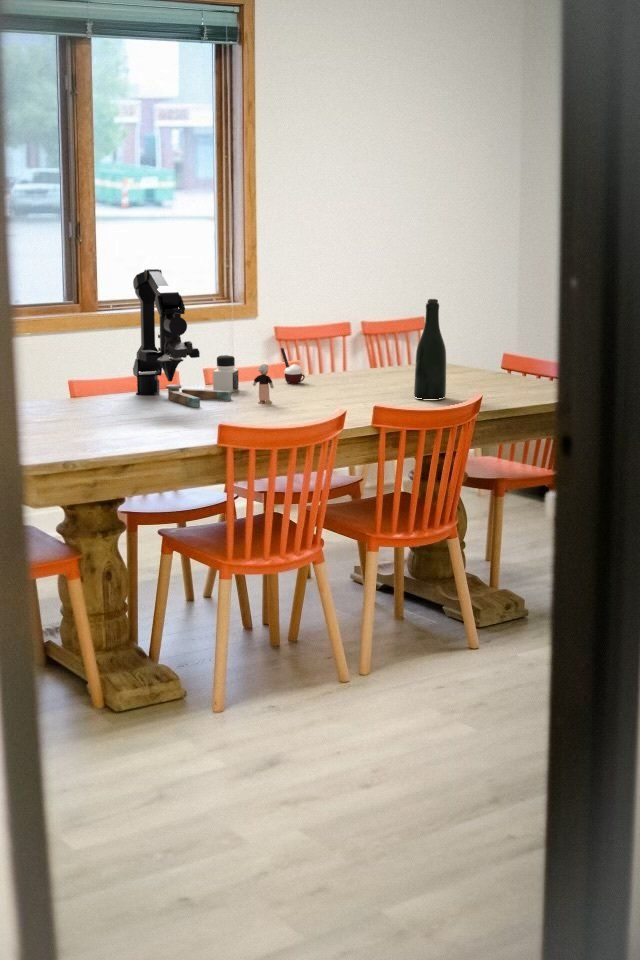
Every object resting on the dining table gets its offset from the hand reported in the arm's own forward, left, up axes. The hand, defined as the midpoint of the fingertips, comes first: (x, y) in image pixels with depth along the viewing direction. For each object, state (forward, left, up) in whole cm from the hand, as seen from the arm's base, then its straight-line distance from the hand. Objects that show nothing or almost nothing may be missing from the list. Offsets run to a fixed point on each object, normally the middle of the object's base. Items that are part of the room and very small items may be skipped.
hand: (170, 381), depth 385 cm
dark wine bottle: (+79, +35, -9) cm, 87 cm away
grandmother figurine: (+27, +15, -9) cm, 32 cm away
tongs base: (+4, +16, -8) cm, 19 cm away
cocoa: (+28, +56, -9) cm, 63 cm away
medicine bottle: (+9, +35, -9) cm, 37 cm away
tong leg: (+2, +8, -8) cm, 12 cm away
